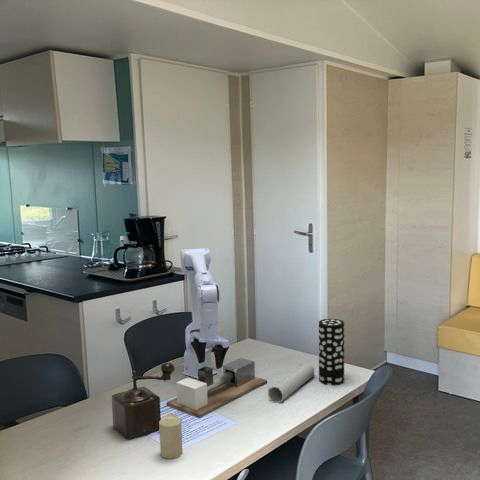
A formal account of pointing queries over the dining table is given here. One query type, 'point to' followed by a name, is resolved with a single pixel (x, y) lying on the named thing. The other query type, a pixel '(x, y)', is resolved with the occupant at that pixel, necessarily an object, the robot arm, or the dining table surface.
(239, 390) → the base board
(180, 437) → the candle
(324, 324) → the white-spotted black cylinder
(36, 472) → the dining table surface
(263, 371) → the dining table surface
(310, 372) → the tube
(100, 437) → the dining table surface
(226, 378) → the inner tube
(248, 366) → the sleeve
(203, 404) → the cream rectangular block
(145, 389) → the manual coffee grinder
